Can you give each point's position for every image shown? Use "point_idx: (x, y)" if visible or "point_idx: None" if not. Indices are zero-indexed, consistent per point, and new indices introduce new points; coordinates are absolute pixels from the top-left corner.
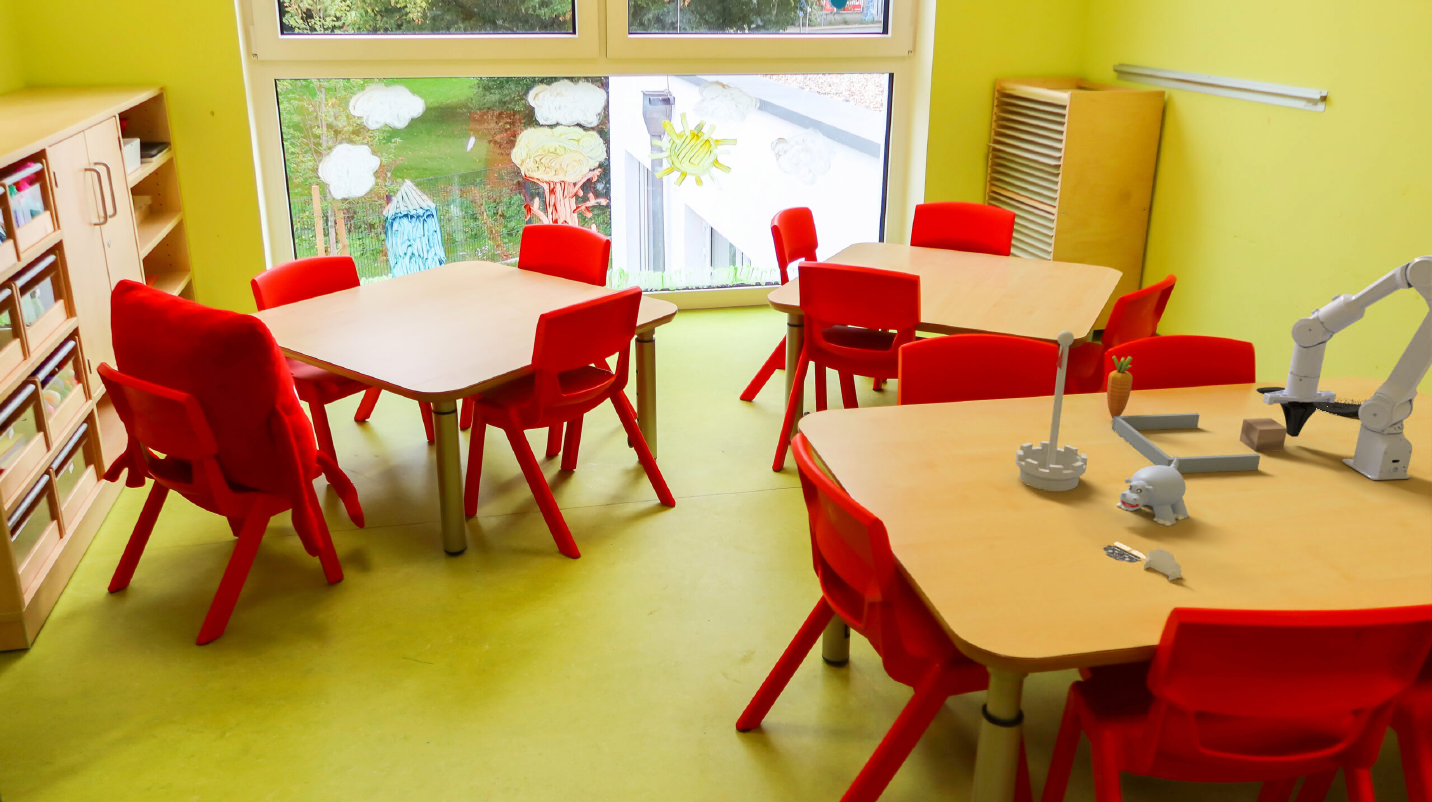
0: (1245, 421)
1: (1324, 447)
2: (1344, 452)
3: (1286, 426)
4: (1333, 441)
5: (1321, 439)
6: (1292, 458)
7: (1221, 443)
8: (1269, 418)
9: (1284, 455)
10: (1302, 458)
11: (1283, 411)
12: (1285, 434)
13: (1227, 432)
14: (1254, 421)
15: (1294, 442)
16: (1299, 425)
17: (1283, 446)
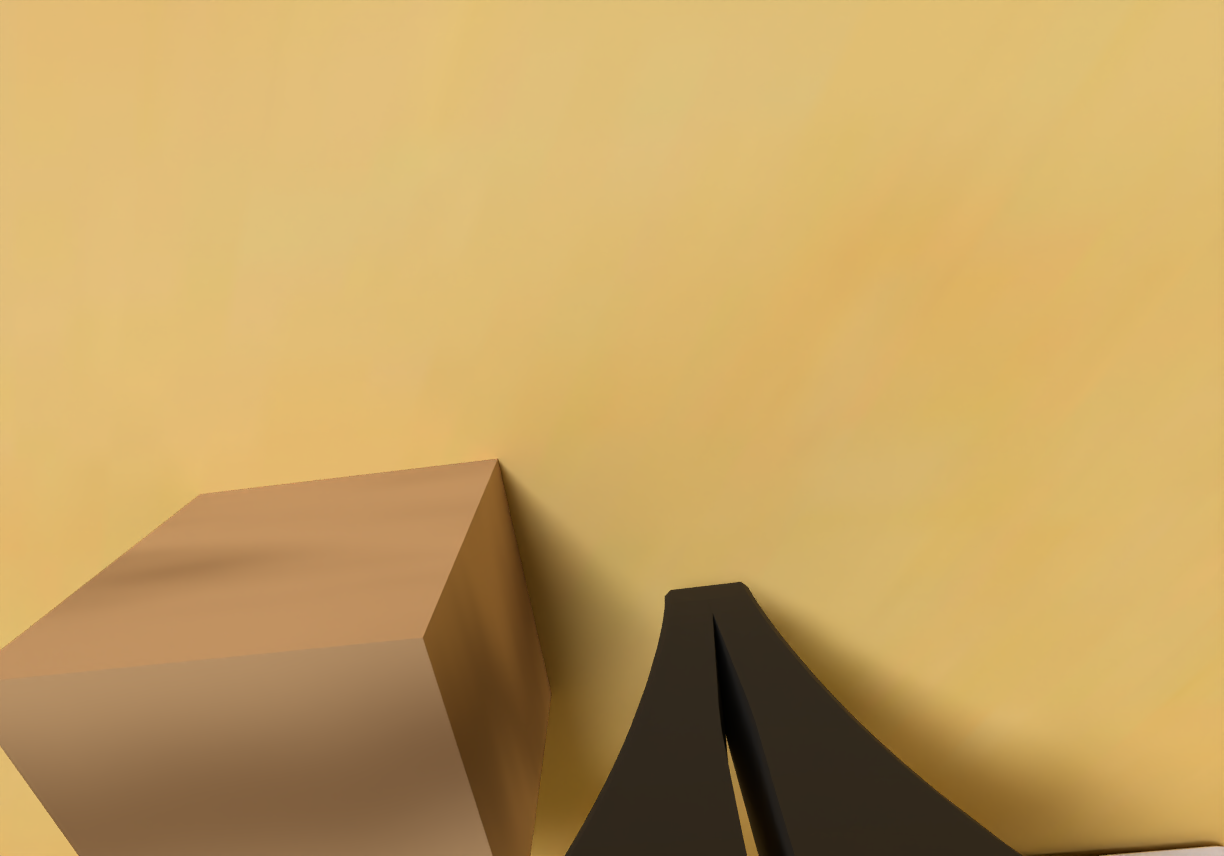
0: (9, 718)
1: (987, 624)
2: (1086, 715)
3: (658, 650)
4: (1214, 480)
5: (1125, 430)
6: (561, 820)
7: (11, 571)
8: (396, 654)
9: None
10: None
11: (578, 845)
12: (525, 852)
13: (87, 256)
14: (127, 760)
15: (763, 521)
16: (755, 840)
17: (546, 726)
